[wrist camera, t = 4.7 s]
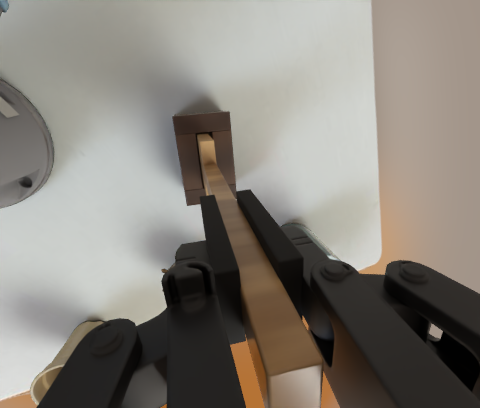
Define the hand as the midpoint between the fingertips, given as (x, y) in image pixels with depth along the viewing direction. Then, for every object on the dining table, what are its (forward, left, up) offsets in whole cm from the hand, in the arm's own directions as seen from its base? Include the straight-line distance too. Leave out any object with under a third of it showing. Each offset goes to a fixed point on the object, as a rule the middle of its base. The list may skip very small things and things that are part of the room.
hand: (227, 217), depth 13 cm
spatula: (0, 0, -17) cm, 17 cm away
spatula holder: (0, 0, -22) cm, 22 cm away
